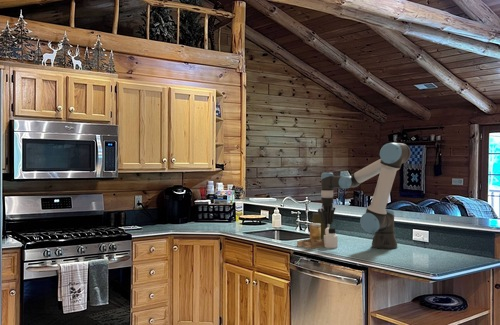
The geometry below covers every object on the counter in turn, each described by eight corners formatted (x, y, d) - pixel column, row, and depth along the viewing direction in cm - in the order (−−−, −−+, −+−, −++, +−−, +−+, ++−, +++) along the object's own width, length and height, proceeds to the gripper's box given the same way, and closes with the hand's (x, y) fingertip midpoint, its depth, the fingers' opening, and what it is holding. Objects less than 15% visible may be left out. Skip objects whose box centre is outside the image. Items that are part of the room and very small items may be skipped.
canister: (327, 239, 327) (327, 210, 327) (312, 239, 329) (311, 209, 330) (328, 237, 338) (328, 208, 338) (313, 237, 340) (313, 208, 340)
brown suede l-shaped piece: (334, 244, 307) (334, 224, 307) (310, 248, 294) (310, 227, 295) (316, 241, 320) (316, 222, 320) (293, 245, 307) (293, 225, 307)
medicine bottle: (335, 246, 302) (334, 226, 302) (337, 248, 294) (337, 228, 294) (323, 246, 301) (323, 226, 301) (325, 248, 294) (325, 228, 294)
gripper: (329, 196, 315) (330, 232, 315) (315, 197, 307) (315, 234, 307) (338, 196, 309) (338, 234, 309) (324, 197, 301) (324, 236, 301)
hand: (327, 234), depth 308 cm, fingers closed
